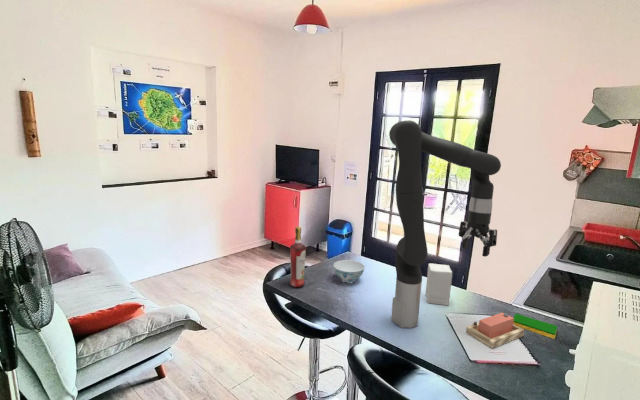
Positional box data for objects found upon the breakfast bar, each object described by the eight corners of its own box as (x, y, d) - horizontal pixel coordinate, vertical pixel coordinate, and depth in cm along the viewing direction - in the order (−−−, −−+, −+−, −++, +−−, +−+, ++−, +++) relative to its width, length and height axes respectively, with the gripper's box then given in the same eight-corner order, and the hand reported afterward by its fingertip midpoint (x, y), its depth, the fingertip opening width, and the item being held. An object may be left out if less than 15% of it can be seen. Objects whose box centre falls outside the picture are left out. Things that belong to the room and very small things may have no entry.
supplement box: (449, 306, 143) (453, 272, 140) (427, 303, 145) (430, 270, 142) (446, 296, 152) (449, 264, 149) (425, 294, 154) (428, 262, 151)
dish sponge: (554, 340, 122) (555, 334, 121) (511, 325, 130) (512, 320, 130) (556, 331, 127) (557, 325, 127) (515, 318, 136) (515, 312, 135)
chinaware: (365, 287, 158) (366, 272, 157) (333, 286, 158) (333, 271, 157) (361, 274, 173) (362, 260, 172) (332, 273, 173) (333, 259, 172)
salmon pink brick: (488, 339, 118) (490, 324, 117) (477, 332, 122) (479, 318, 121) (512, 330, 124) (514, 316, 123) (500, 324, 128) (502, 310, 127)
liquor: (296, 280, 164) (297, 224, 158) (308, 285, 159) (309, 227, 154) (286, 285, 158) (286, 227, 152) (298, 290, 153) (299, 230, 148)
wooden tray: (492, 348, 115) (493, 339, 114) (466, 332, 124) (467, 323, 123) (523, 336, 123) (524, 327, 122) (496, 321, 132) (498, 313, 131)
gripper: (456, 206, 128) (452, 247, 131) (490, 215, 115) (485, 260, 118) (470, 205, 131) (465, 245, 134) (504, 213, 119) (499, 257, 122)
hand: (474, 252), depth 126 cm, fingers open, 8 cm apart
